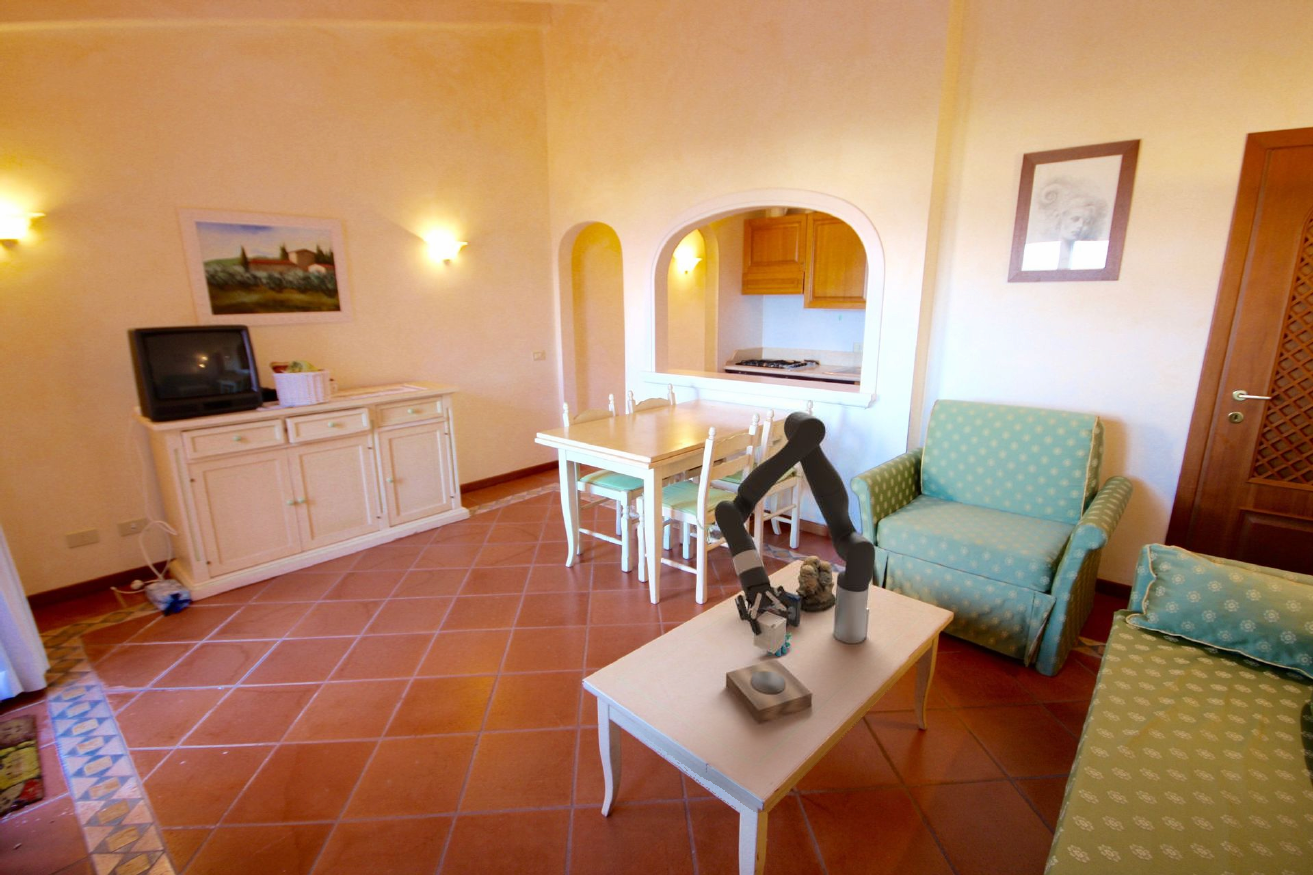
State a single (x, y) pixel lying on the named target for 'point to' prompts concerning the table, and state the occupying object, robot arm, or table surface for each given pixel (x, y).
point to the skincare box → (771, 632)
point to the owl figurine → (815, 585)
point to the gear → (783, 645)
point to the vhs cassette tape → (791, 612)
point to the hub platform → (768, 690)
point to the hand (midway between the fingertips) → (773, 630)
